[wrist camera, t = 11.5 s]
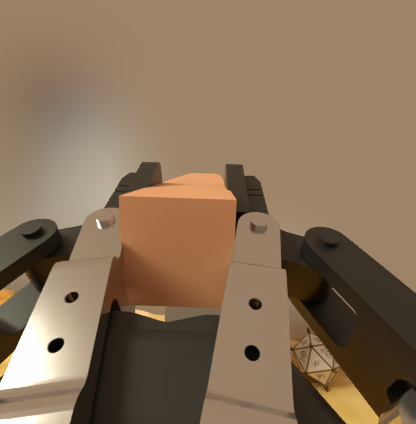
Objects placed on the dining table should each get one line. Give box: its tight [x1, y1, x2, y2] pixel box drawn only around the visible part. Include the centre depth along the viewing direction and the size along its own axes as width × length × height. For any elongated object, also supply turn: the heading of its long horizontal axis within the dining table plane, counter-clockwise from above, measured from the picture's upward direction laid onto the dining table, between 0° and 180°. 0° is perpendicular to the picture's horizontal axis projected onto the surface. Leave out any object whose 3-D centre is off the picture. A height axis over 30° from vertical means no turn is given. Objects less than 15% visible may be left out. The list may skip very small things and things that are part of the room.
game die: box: [290, 328, 341, 391], centre depth 46 cm, size 9×8×10 cm
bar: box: [119, 173, 237, 309], centre depth 18 cm, size 22×3×3 cm, turn 179°
